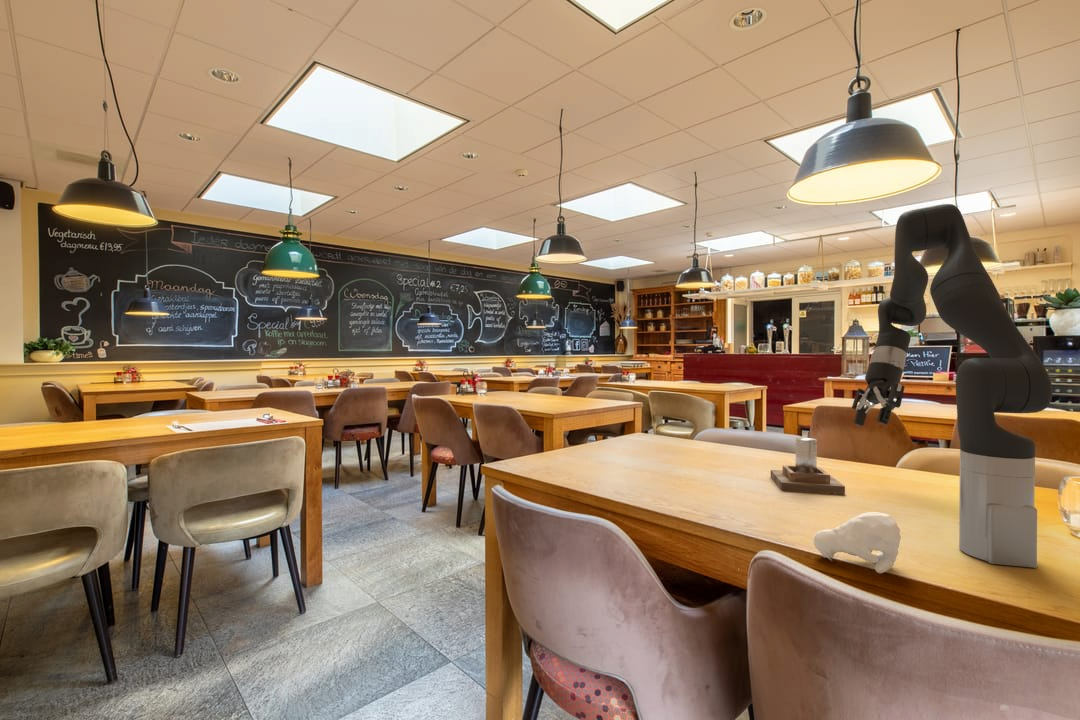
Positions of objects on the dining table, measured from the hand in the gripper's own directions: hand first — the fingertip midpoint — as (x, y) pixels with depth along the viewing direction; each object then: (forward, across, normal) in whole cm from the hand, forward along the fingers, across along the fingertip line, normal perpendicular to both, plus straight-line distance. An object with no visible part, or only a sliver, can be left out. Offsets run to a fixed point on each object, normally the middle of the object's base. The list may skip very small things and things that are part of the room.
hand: (869, 424), depth 125 cm
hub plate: (+20, -6, -8) cm, 22 cm away
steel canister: (+18, -5, -9) cm, 21 cm away
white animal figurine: (+37, +40, -23) cm, 59 cm away
